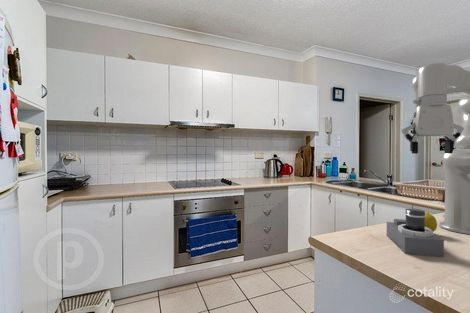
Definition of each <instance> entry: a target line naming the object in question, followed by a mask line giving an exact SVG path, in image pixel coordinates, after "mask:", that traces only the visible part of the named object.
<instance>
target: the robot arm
mask: <svg viewBox="0 0 470 313" xmlns="http://www.w3.org/2000/svg"><path fill="white" fill-rule="evenodd" d="M417 73H418V74H417V75H415V76H414V77H413V80H412V81H411V82H412V84H411V86H412V89H413V91H414V92H415V93H417V98H416V99H413V100H412V103H413V105H416V107H415V109H414V113H413V117H412V124H410V125H409V126H406V127H404V128H402V129H401V132H402V135H403V136H404V137H403V138H405V139H406V140H407V141H408V142H409V147H410V148H409V150H410V152H411V154H415V155H416V154H419V141H417V140H419V139H420V138H421V137H437V136H438V137H440V136H441V137H443V138H444V139H445V140H446V141H445V142H444V153H443V154H442V158H441V163H442V168H443V173H444V214H443V215H442V217H443V218H444V221H440V222H439V227H440V228H442V229H445V230H447V231H449V232H455V233H460V234H467V235H470V70H466V69H464V68H463V67H462V66H459V65H457V64H456V65H455V64H446V63H443V62H434V63H428V64H426V65H425V64H424V65H423V66H421V67H420V68H419V69H418V72H417ZM453 94H457V95H458V94H460V95H467V96H464V97H461V98H460V99H459V100H458V101H457V114H458V118H459V120H460V123H461V126H460V125H458V124H456V123H454V117H453V111H452V107H451V105H450V104H447V103H448V95H453ZM410 130H411V132H412V135H411V134H410V133H409V132H410ZM454 130H455V132H454Z"/></svg>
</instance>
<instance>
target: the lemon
mask: <svg viewBox="0 0 470 313" xmlns="http://www.w3.org/2000/svg"><path fill="white" fill-rule="evenodd" d="M425 227H427V228H429V229H431V230H432V231H433V233H434V232H435V231H436V230H437V228H438V221H437V218H436V217H435V216H434V215H432V214H431V213H429V212H425Z"/></svg>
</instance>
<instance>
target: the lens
mask: <svg viewBox="0 0 470 313" xmlns="http://www.w3.org/2000/svg"><path fill="white" fill-rule="evenodd" d="M425 213H426V211H425V210H423V209H418V208H417V209H416V208H405V220H406V229H407V230H411V231H418V232H425Z"/></svg>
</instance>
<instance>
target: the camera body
mask: <svg viewBox="0 0 470 313" xmlns="http://www.w3.org/2000/svg"><path fill="white" fill-rule="evenodd" d="M386 237H388V239H390V240H391V242H393V243H394V244H395V245H396V246H397V247H398V248H399V250H401V251H402V252H403V254H405V255H407V254H408V255H418V256H428V255H429V256H430V257H439V258H442V257H443V258H444V256H445V254H444V253H445V251H444V250H445V240H444V239H443V238H442V237H440V236H438V235H437V234H435V233H434V232H433V231H432V230H431V229H429V228H427V227H425V232H418V231H411V230H407V229H406V219H404V218H403V219H402V218H401V219H400V218H393V221H386ZM429 256H428V257H429Z"/></svg>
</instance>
